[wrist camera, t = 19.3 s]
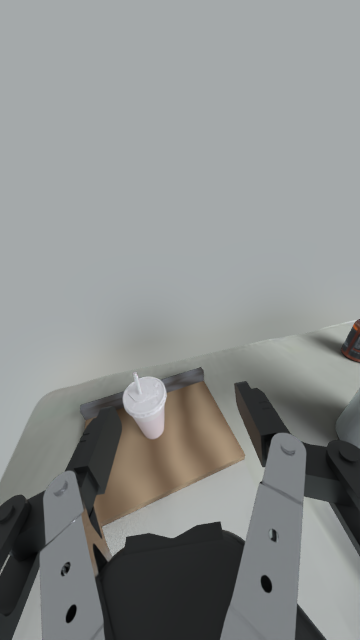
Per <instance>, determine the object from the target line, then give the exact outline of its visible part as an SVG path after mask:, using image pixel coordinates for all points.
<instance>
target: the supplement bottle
mask: <svg viewBox="0 0 360 640" xmlns="http://www.w3.org/2000/svg"><path fill="white" fill-rule="evenodd" d="M341 351H342V353H343V354H344V355H345V356H346V357H348V358H349V359H351V360H354V361H357V362H360V319H359V320H357V321H356V322H355V323H354V325H353V327H352V329H351V331H350V333H349V335H348V337H347V339H346V340H345V342H344V344H343V346H342V349H341Z"/></svg>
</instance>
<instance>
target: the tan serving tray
mask: <svg viewBox="0 0 360 640" xmlns="http://www.w3.org/2000/svg"><path fill="white" fill-rule="evenodd" d="M161 381H162V382H163V384H164V386H165V389H166V393H167V397H166V401H165V405H164V431H163V433H162V434H161V435H160V436H159V437H158V438H156V439H149V438H147V437H146V436H145V435H144V434H143V432H142V430H141V429H140V427H139V426H138V424H137V423H136V421H135V420H134V418H133V417H132V416H131V415H129V414H128V413H127V412H126V410H125V408H124V404H123V394H124V392H121V393H118V394H114V395H111V396H108V397H105V398H102V399H99V400H95V401H92V402H89V403H86V404H83V405H81V406H80V412H81V414H82V415H83V417H84V419H85V420H86V422H85V429H86V427H87V425H88V424H89V423H90V422H91V421H92V419H93V418H96V417H97V415H98V413H99V411H100V409H101V408H104V407H110V406H114V407H115V409H116V411H117V413H118V416H119V418H120V420H121V423H122V433H121V436H120V440H119V444H118V447H117V451H116V454H115V458H114V462H113V465H112V469H111V472H110V476H109V480H108V483H107V487H106V490H105V494H101V495H96V498H95V502H94V504H95V506H96V509H97V513H98V516H99V520H100V523H101V527H102V526H104V525H106V524H108V523H111V522H113V521H115V520H117V519H119V518H121V517H123V516H125V515H127V514H130V513H132V512H134V511H136V510H138V509H140V508H142V507H144V506H146V505H149V504H151V503H153V502H155V501H157V500H159V499H161V498H163V497H165V496H168V495H170V494H172V493H174V492H176V491H178V490H180V489H182V488H184V487H187V486H189V485H191V484H193V483H195V482H197V481H199V480H201V479H203V478H206V477H208V476H210V475H212V474H214V473H216V472H218V471H220V470H222V469H225V468H227V467H229V466H231V465H233V464H235V463H237V462H239V461H241V460H244V458H245V454H244V452H243V450H242V448H241V447H240V445H239V443H238V441H237V439H236V438H235V436H234V434H233V432H232V431H231V429H230V427H229V425H228V423H227V422H226V420H225V418H224V416H223V414H222V413H221V411H220V409H219V407H218V406H217V404H216V402H215V400H214V398H213V397H212V395H211V393H210V391H209V389H208V388H207V386H206V384H205V382H204V371H203V369H202V368H201V367H200V368H197V369H194V370H190V371H187V372H184V373H181V374H178V375H175V376H171V377H168V378H165V379H162V380H161Z"/></svg>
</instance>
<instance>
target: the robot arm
mask: <svg viewBox="0 0 360 640" xmlns="http://www.w3.org/2000/svg"><path fill="white" fill-rule="evenodd" d="M234 385H235V394H236V402H237V406H238V410H239V412H240V415H241V417H242V419H243V422H244V424H245V427H246V429H247V431H248V434H249V436H250V439H251V441H252V443H253V446H254V448H255V451H256V453H257V455H258V458H259V460H260V462H261V465H262V467H265V471H264V476H263V479H262V482H260V484H259V486H258V490H257V494H256V499H255V503H254V507H253V511H252V516H251V520H250V524H249V528H248V533H247V537H246V541H244V540H243V539H242V538H240V537H239V536H237V535H235V534H234V533H231V532H229V531H225V530H222V527H221V522H214V523H208V524H202V525H197V526H195V527H193V528H191V529H190V530H188V531H186V532H184V533H183V534H181V535H179V536H177V537H175V538H167V537H163V536H159V535H155V534H150V533H147V534H141V535H135V536H129V537H126V543H125V547H124V548H123V549H121V550H120V551H119V552H117V553H116V554H115V555H114V556H113V557H112V555H111V553H110V550H109V548H108V546H107V543H106V540H105V537H104V534H103V530H102V527H101V523H100V520H99V516H98V513H97V509H96V506H95V504H94V502H95V498H96V495H101V494H105V490H106V487H107V483H108V480H109V476H110V472H111V469H112V465H113V462H114V458H115V454H116V451H117V447H118V444H119V440H120V436H121V433H122V423H121V420H120V418H119V416H118V413H117V411H116V409H115V407H114V406H110V407H104V408H101V409H100V411H99V413H98V415H97V417H96V418H93V419H92V421H91V422H90V423H89V424H88V425H87V427H86V429H85V431H84V433H83V436H82V437H81V439H80V441H79V443H78V445H77V447H76V449H75V451H74V453H73V456H72V458H71V460H70V462H69V464H68V466H67V468H66V470H65V472H63V473H61V474H60V475H58V476H57V477H56V478H55V479H54V480H53V481H52V482H51V483H50V484H49V486H48V487H47V489H46V490H45V491H43V492H41V493H40V494H38V495H36V496H34V497H32V498H30V499H28V500H27V499H26V498H25V497H24V496H23V495H17V496H14V497H12V498H10V499H9V500H7V501H6V502H5V503H4V504H2V505H1V506H0V570H1V568H2V566H3V564H4V562H5V560H6V558H7V557H8V555H9V554H10V557H9V559H8V561H7V563H6V565H5V567H4V569H3V571H2V573H1V575H0V640H12V637H13V635H14V632H15V630H16V627H17V624H18V622H19V619H20V617H21V614H22V611H23V609H24V606H25V604H26V601H27V598H28V596H29V593H30V591H31V588H32V585H33V583H34V580H35V578H36V575H37V572H38V570H39V567H40V590H41V620H42V640H326V638H325V637H324V636H323V635H322V633H321V632H320V631H319V630H318V629H317V627H316V626H315V625H314V624H313V622H312V621H311V620H310V619H309V617H308V616H307V615H306V614H305V612H304V611H303V610H302V609H301V607H300V606H299V605H298V604H297V597H298V581H299V565H300V549H301V533H302V517H303V499H304V496H305V497H310V498H314V499H318V500H323V501H327V502H329V504H330V505H331V507H332V509H333V511H334V512H335V514H336V516H337V518H338V519H339V521H340V523H341V525H342V526H343V528H344V530H345V532H346V533H347V535H348V537H349V539H350V540H351V542H352V544H353V545H354V547H355V549H356V551H357V552H358V554H359V556H360V389H359V390H358V392H357V393H356V394H355V396H354V397H353V398H352V400H351V401H350V403H349V404H348V405H347V407H346V408H345V409H344V411H343V412H342V414H341V415H340V416H339V418H338V419H337V421H336V432H337V435H338V437H339V439H340V440H333V441H331V442H329V444H328V445H327V447H324V446H317V445H310V444H306V443H304V442H301V441H300V440H299V439H298V438H296V437H295V436H293V435H292V434H291V433H290V432H289V431H288V429H287V428H286V426H285V425H284V423H283V422H282V420H281V418H280V417H279V415H278V414H277V412H276V411H275V409H274V408H273V406H272V405H271V403H270V402H269V400H268V398H267V397H266V395H265V394H264V393H263V392H262V391H260V390H259V389H258V388H254V389H251V388H250V386H249V385H248V383H247V382H246V381H244V382H239V383H235V384H234Z"/></svg>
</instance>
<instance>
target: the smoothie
mask: <svg viewBox="0 0 360 640" xmlns="http://www.w3.org/2000/svg"><path fill="white" fill-rule="evenodd" d="M133 377H134V380H135V381H133V382H132V383H131V384H129V386H128V387H127V388H126V390H125V391H124V394H123V404H124V408H125V410H126V412H127V413H128V414H129V415H131V416H132V417H133V418H134V420H135V421H136V423H137V424H138V426H139V427H140V429H141V430H142V432H143V434H144V435H145V436H146V437H147V438H149V439H156V438H158V437H159V436H160V435H161V434H162V433H163V431H164V405H165V401H166V397H167V393H166V389H165V386H164V384H163V382H162V381H161V380H159V379H158V378H155V377H150V376H147V377H141V378H139V379H138V375H137V372H136V371H135V372H133Z"/></svg>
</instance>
